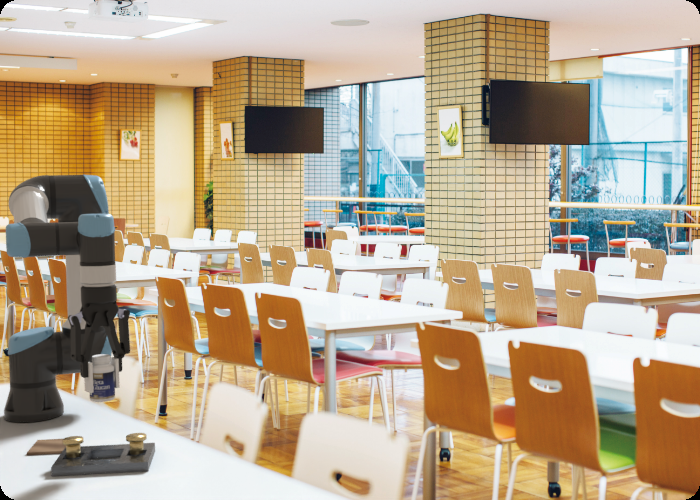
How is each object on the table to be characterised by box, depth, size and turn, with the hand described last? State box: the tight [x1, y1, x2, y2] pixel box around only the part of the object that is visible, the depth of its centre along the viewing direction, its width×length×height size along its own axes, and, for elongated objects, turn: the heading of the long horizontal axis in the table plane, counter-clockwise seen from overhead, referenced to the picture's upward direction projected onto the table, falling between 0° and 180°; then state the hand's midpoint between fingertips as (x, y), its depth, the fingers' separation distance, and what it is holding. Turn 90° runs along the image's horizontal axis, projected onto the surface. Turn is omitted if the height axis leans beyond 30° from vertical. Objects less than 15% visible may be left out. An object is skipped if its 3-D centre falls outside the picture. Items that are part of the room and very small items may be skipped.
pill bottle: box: [89, 354, 116, 403], centre depth 184 cm, size 5×5×10 cm
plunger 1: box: [62, 435, 85, 458], centre depth 184 cm, size 4×4×4 cm
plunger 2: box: [125, 432, 147, 455], centre depth 186 cm, size 4×4×4 cm
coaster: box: [26, 438, 66, 456], centre depth 197 cm, size 10×10×1 cm
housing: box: [50, 442, 156, 477], centre depth 185 cm, size 14×20×2 cm
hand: (102, 389), depth 184 cm, fingers closed on pill bottle, 5 cm apart
